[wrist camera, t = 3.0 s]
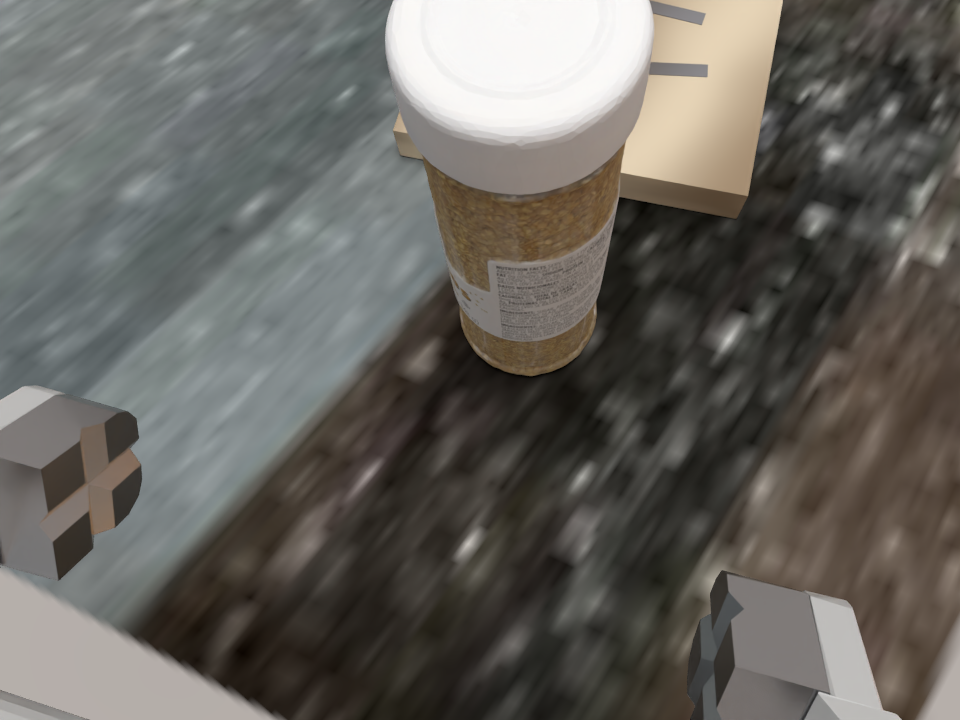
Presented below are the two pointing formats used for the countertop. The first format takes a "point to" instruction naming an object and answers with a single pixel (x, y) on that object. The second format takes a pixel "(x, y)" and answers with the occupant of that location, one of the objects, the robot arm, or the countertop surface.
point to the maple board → (695, 105)
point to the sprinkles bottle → (522, 156)
